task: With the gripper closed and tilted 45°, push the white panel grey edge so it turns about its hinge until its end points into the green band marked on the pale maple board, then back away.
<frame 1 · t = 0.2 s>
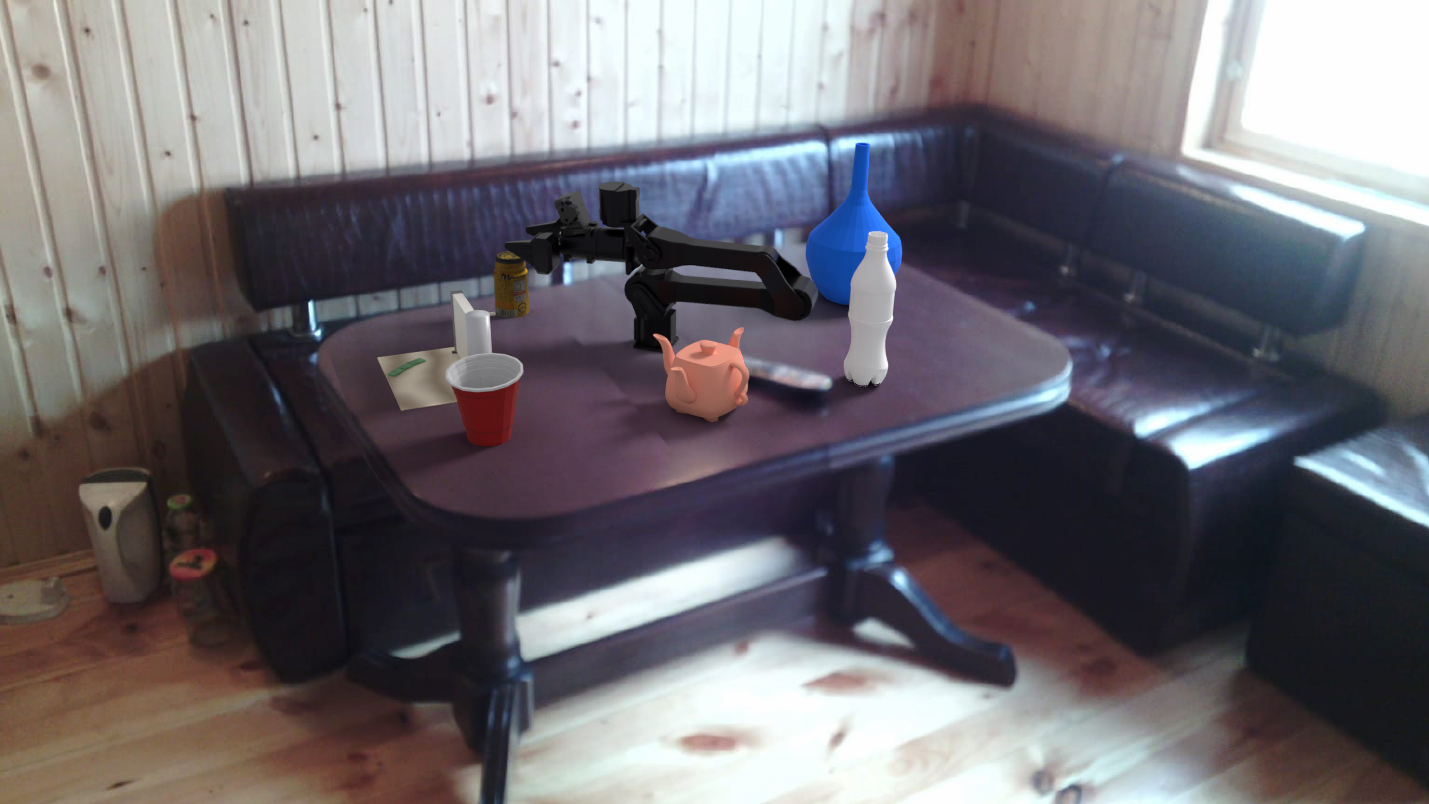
hand: (515, 237, 200), 17 cm above the table, tool horizontal, fingers open, 9 cm apart
teapot: (699, 407, 181), on the table
water bottle: (864, 381, 191), on the table
vase: (849, 297, 226), on the table
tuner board: (440, 382, 186), on the table
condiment: (512, 321, 210), on the table
plastic cup: (489, 445, 167), on the table
white panel grey edge: (469, 335, 183), point 8 cm above the table, hinge at 0.0°
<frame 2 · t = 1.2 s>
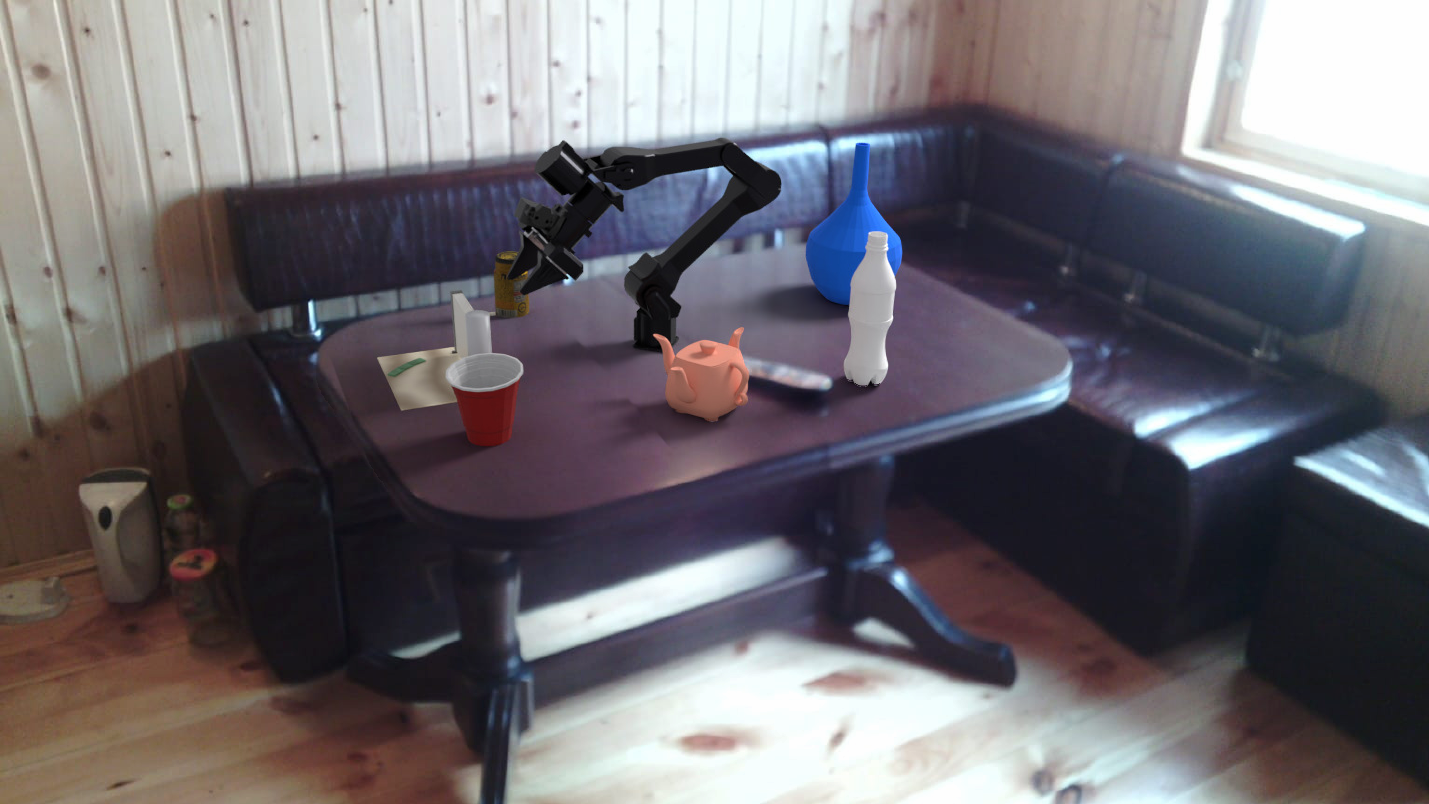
hand: (515, 285, 187), 14 cm above the table, tool tilted 45°, fingers open, 7 cm apart
nothing on the table moved.
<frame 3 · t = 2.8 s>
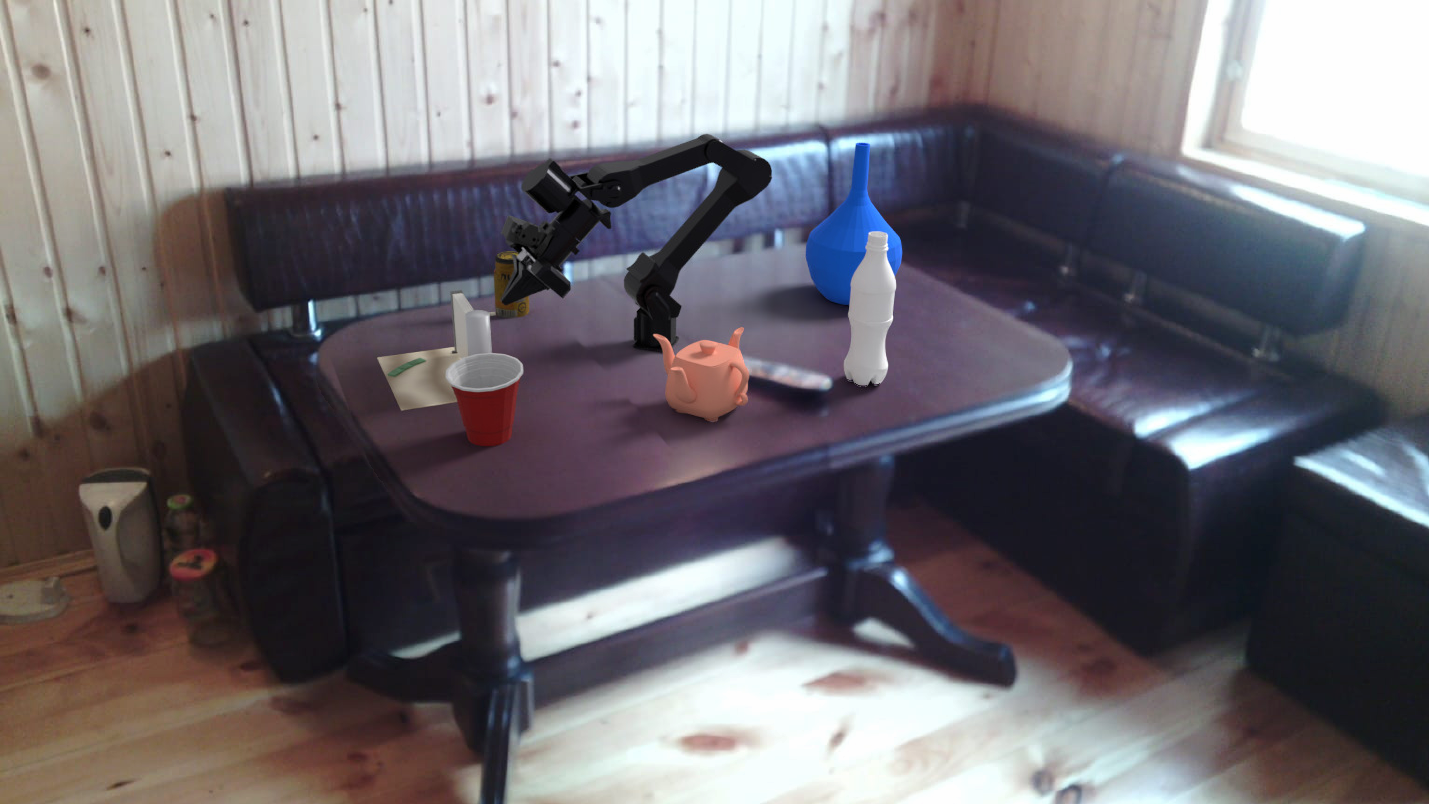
hand: (502, 303, 187), 11 cm above the table, tool tilted 45°, fingers closed
nothing on the table moved.
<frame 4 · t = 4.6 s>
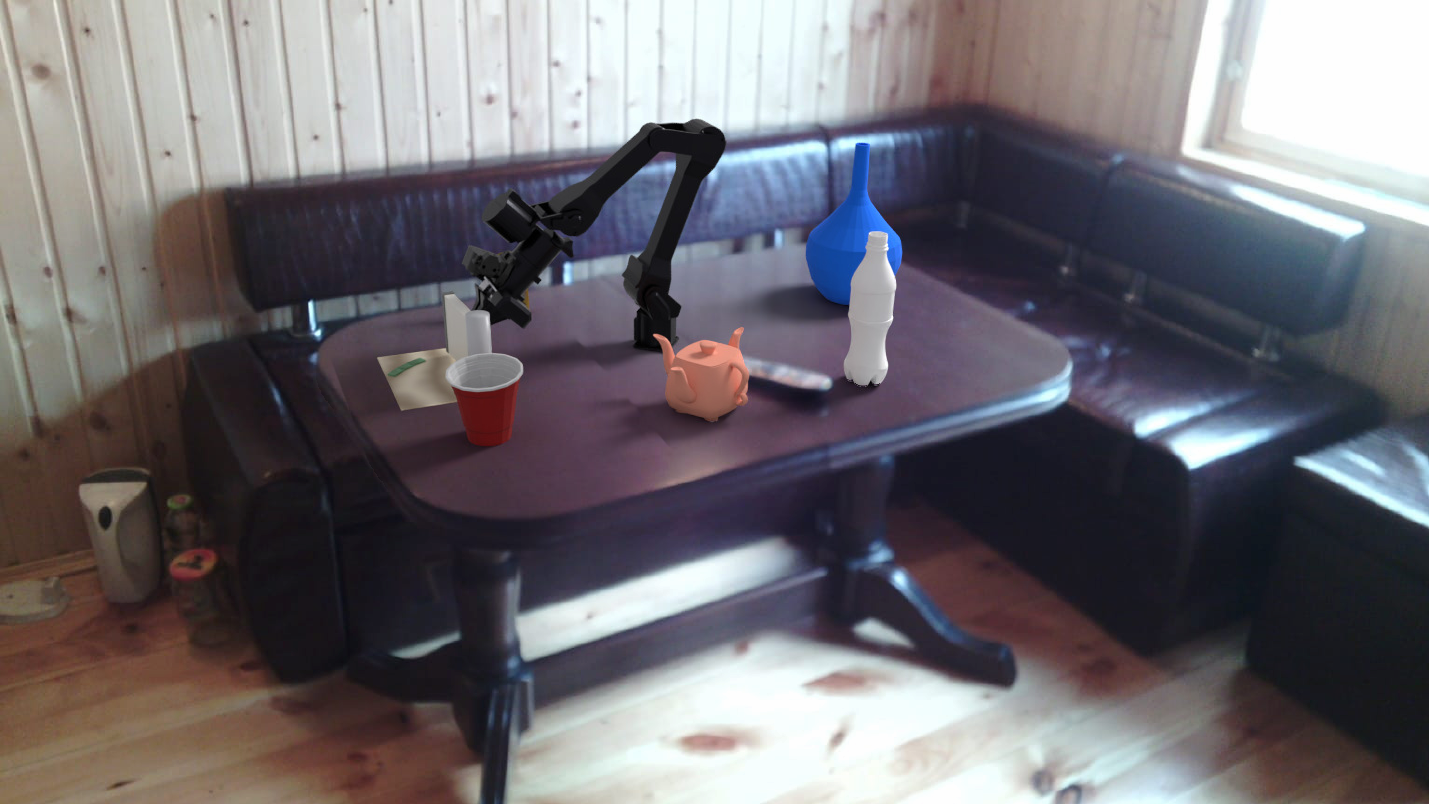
hand: (465, 332, 187), 7 cm above the table, tool tilted 45°, fingers closed, pressing on white panel grey edge
white panel grey edge: (465, 336, 183), point 8 cm above the table, hinge at 5.6°, touching gripper
everything else where it was.
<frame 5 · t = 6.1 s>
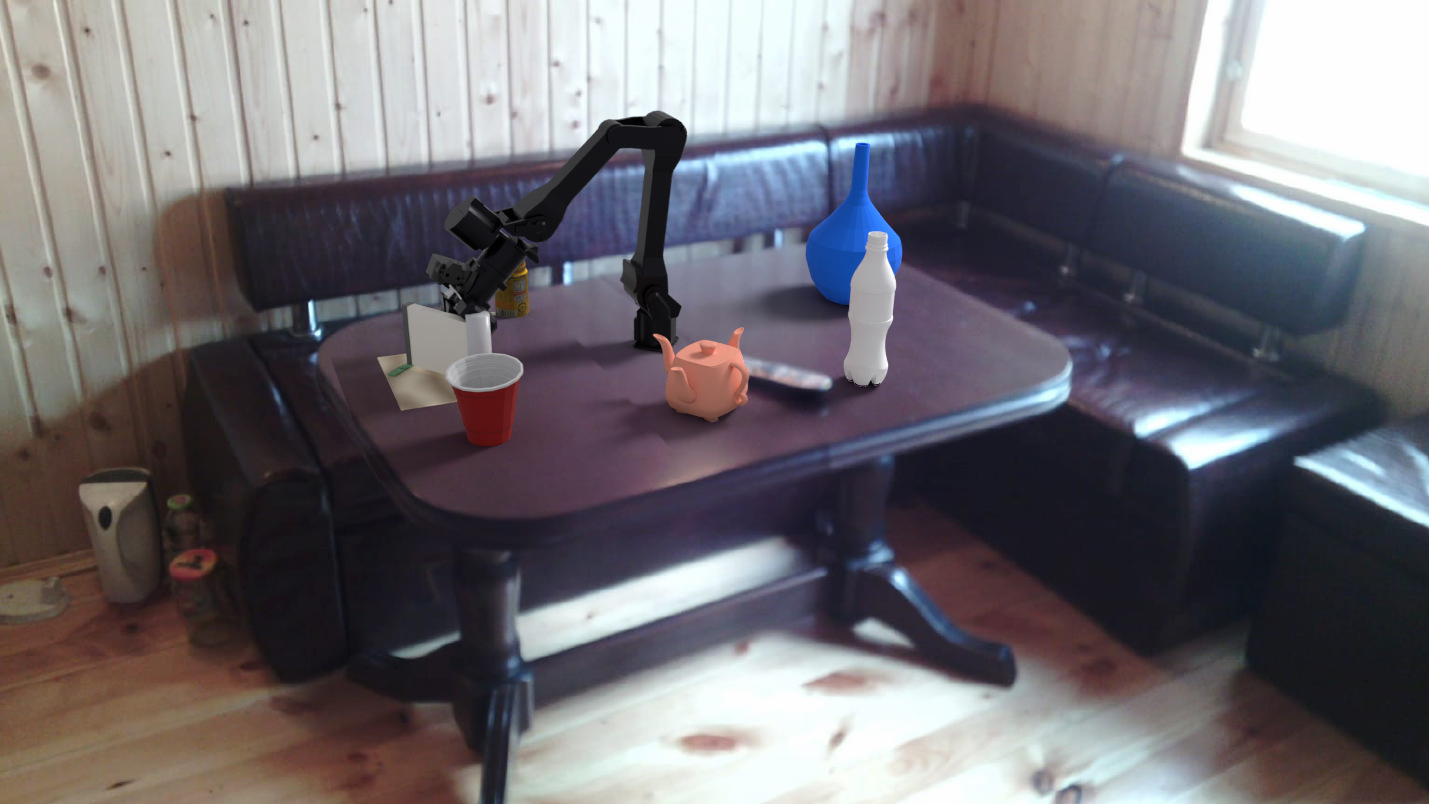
hand: (431, 342, 185), 6 cm above the table, tool tilted 45°, fingers closed
white panel grey edge: (447, 341, 181), point 8 cm above the table, hinge at 35.2°, touching gripper
everything else where it was.
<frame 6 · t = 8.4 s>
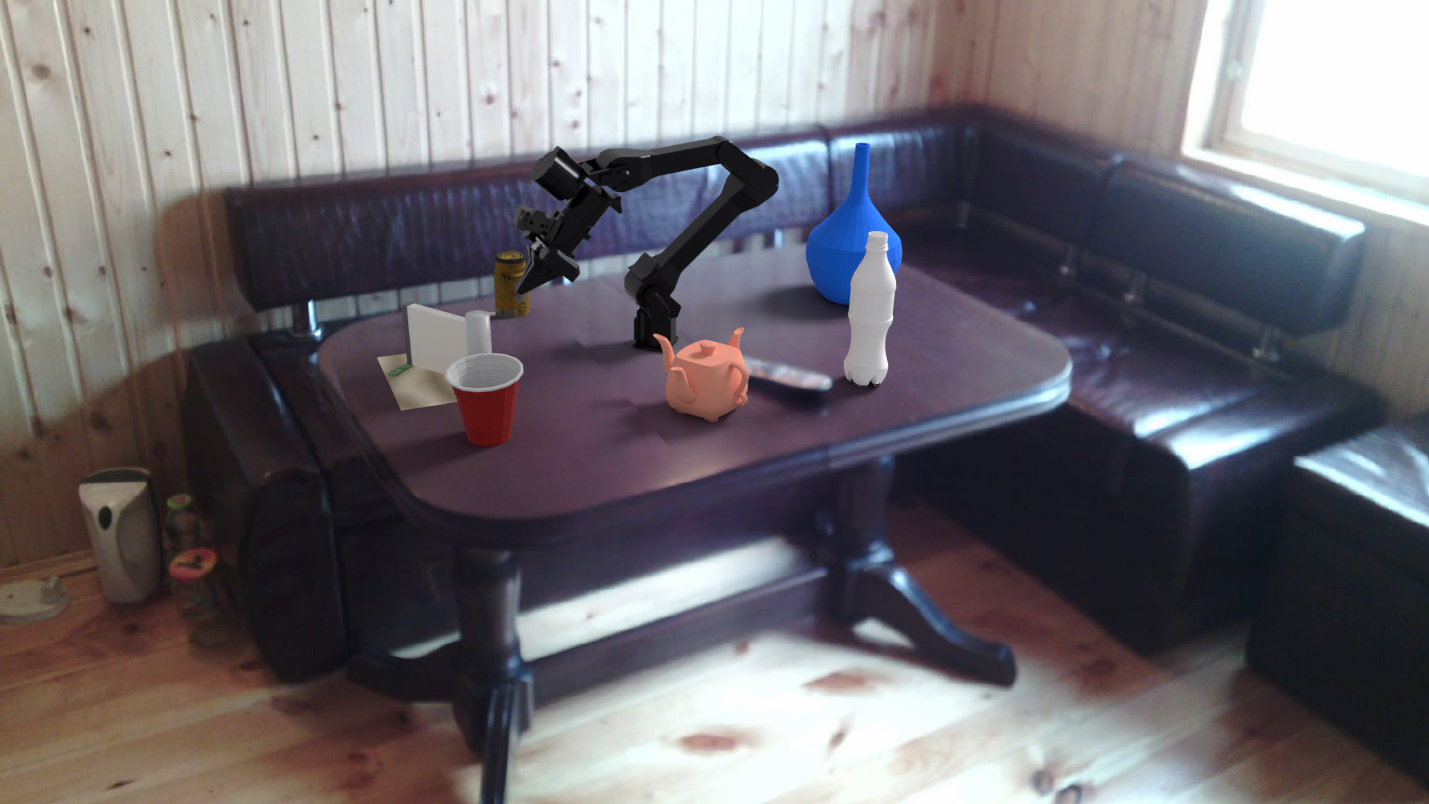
hand: (518, 293, 188), 12 cm above the table, tool tilted 40°, fingers closed
white panel grey edge: (447, 341, 181), point 8 cm above the table, hinge at 35.2°
everything else where it was.
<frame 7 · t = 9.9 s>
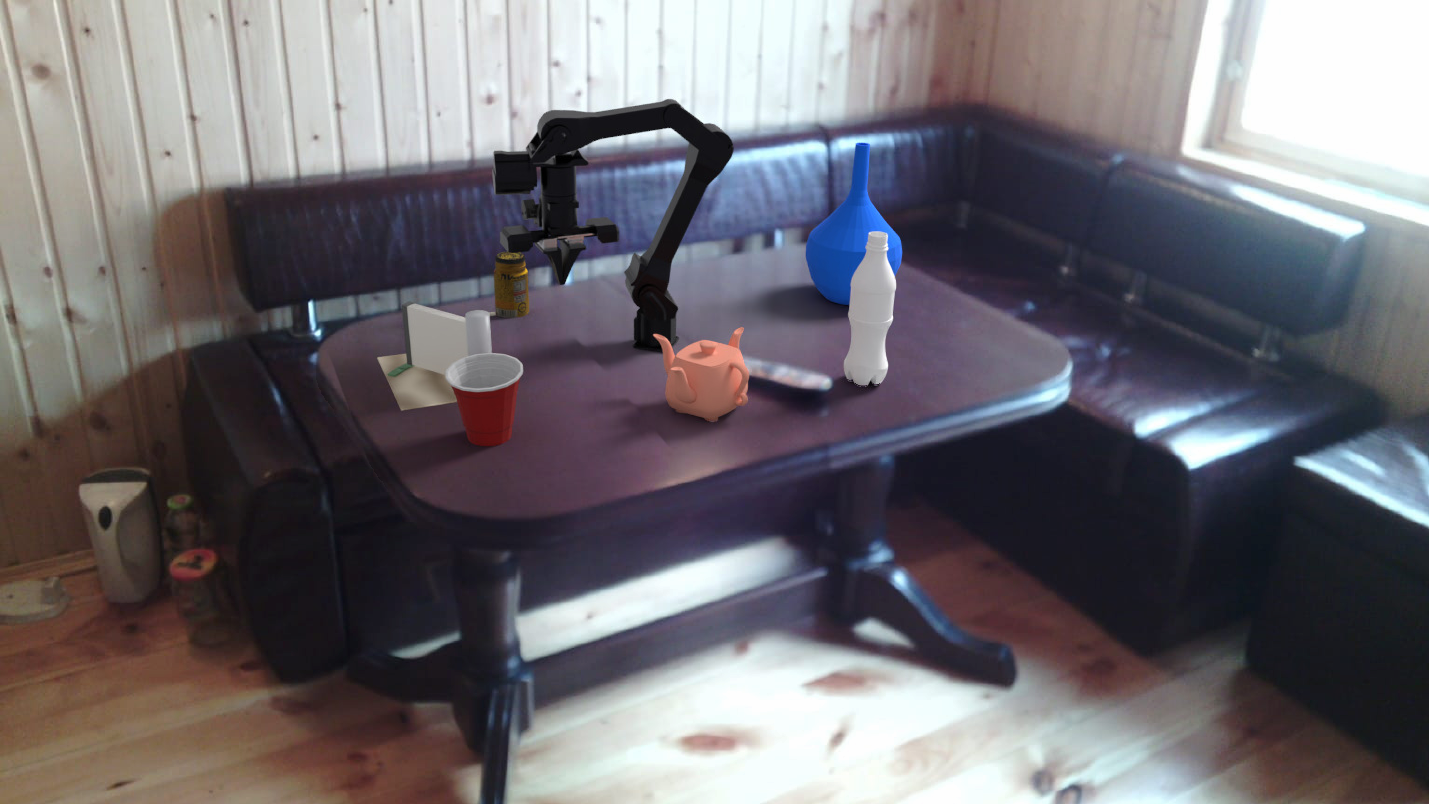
hand: (561, 284, 193), 12 cm above the table, tool pointing down, fingers closed
nothing on the table moved.
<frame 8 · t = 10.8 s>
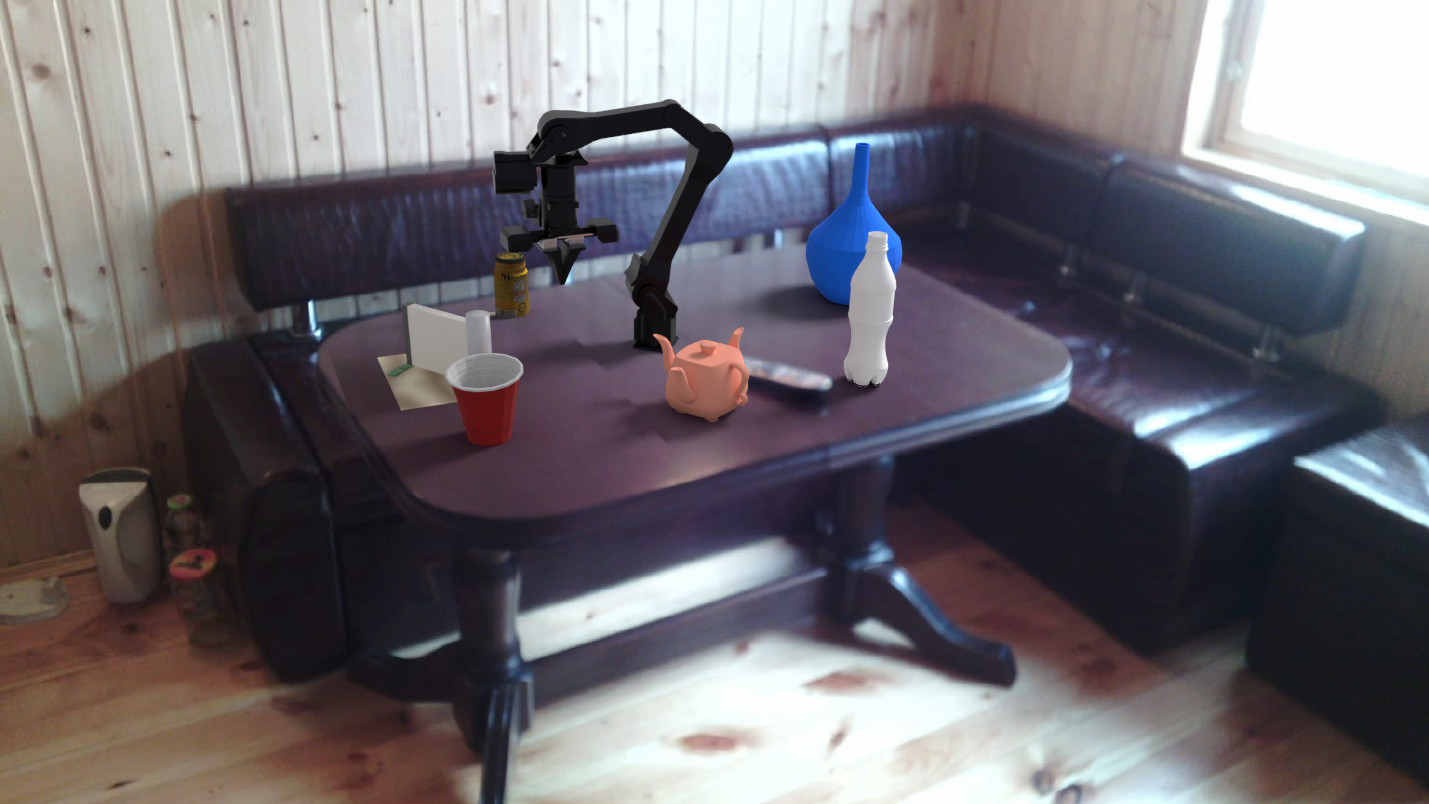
hand: (561, 284, 193), 12 cm above the table, tool pointing down, fingers closed
nothing on the table moved.
at the end: white panel grey edge at +35° (first picture: +0°) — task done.
